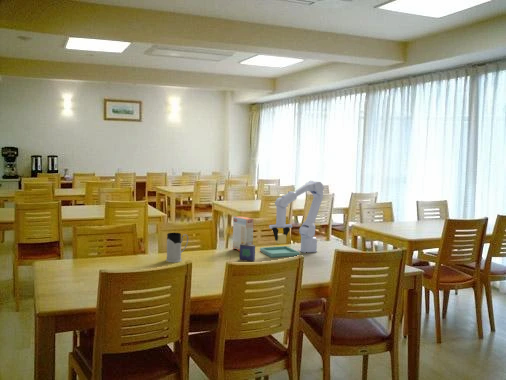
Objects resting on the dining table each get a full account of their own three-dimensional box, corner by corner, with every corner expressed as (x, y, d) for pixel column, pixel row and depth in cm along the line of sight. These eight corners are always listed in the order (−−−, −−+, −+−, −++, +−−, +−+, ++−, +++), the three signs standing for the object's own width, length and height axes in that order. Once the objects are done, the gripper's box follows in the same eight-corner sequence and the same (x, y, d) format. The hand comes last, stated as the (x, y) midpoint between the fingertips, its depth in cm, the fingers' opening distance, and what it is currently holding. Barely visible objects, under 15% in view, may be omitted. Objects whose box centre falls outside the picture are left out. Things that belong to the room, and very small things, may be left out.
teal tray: (286, 249, 291) (286, 246, 291) (299, 255, 274) (299, 252, 274) (260, 251, 284) (260, 247, 284) (271, 257, 268) (271, 253, 267)
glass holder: (162, 260, 256) (162, 233, 254) (182, 256, 266) (183, 230, 265) (172, 263, 250) (172, 235, 248) (192, 259, 260) (192, 232, 259)
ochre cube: (282, 241, 281) (282, 233, 281) (286, 243, 277) (286, 235, 276) (275, 242, 279) (275, 233, 279) (278, 243, 275) (278, 235, 274)
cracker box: (253, 252, 281) (254, 218, 279) (245, 253, 277) (245, 219, 275) (240, 248, 292) (241, 215, 290) (232, 249, 288) (233, 216, 287)
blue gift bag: (255, 260, 260) (255, 241, 259) (253, 261, 257) (253, 242, 256) (240, 259, 263) (240, 240, 262) (238, 260, 260) (238, 241, 259)
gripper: (272, 218, 271) (272, 241, 272) (294, 218, 276) (294, 240, 277) (268, 217, 277) (267, 239, 278) (289, 216, 282) (289, 238, 284)
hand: (280, 239), depth 278 cm, fingers closed on ochre cube, 5 cm apart
